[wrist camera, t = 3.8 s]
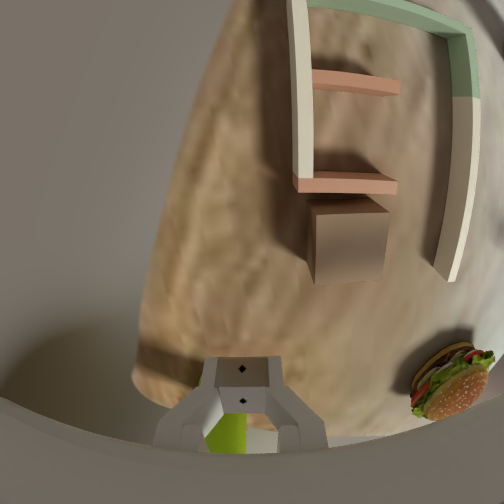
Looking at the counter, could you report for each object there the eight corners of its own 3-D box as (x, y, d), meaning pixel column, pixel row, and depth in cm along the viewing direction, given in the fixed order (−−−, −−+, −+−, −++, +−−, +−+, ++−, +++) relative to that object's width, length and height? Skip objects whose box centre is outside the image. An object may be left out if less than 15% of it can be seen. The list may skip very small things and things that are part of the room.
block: (306, 199, 22) (316, 215, 18) (369, 197, 22) (389, 212, 18) (306, 261, 24) (314, 285, 21) (365, 256, 24) (381, 279, 21)
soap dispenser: (264, 384, 31) (267, 542, 13) (220, 401, 33) (207, 542, 15) (234, 359, 29) (221, 538, 11) (189, 378, 31) (161, 532, 13)
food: (447, 393, 35) (464, 426, 28) (389, 399, 34) (404, 441, 27) (492, 334, 30) (517, 367, 22) (439, 331, 29) (468, 375, 21)
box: (285, -5, 14) (289, -21, 12) (453, 33, 14) (471, 28, 11) (291, 274, 25) (295, 293, 22) (439, 266, 24) (454, 281, 22)
